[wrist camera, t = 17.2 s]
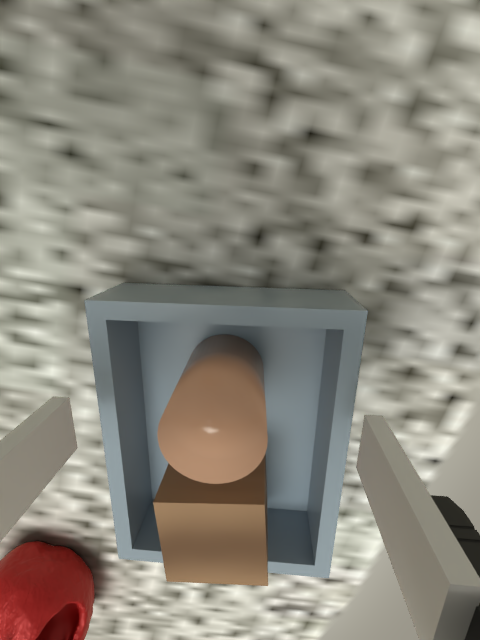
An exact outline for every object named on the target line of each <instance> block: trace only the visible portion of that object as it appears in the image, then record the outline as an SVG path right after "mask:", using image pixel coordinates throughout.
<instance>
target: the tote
mask: <svg viewBox="0 0 480 640" xmlns="http://www.w3.org/2000/svg"><path fill="white" fill-rule="evenodd" d="M84 301H85V308H86V316H87V323H88V331H89V338H90V346H91V353H92V361H93V368H94V376H95V383H96V391H97V398H98V406H99V413H100V421H101V428H102V436H103V443H104V451H105V458H106V466H107V473H108V481H109V488H110V496H111V503H112V511H113V518H114V526H115V533H116V541H117V548H118V556H119V559H129V560H139V561H150V562H161V563H164V562H163V557H162V551H161V545H160V539H159V534H158V528H157V522H156V517H155V511H154V505H153V501H154V499H155V496H156V494H157V491H158V489H159V486H160V484H161V481H162V479H163V476H164V474H165V471H166V469H167V466H168V464H169V463H168V462H167V460H166V459H165V458H164V456H163V454H162V452H161V450H160V447H159V443H158V436H157V432H158V425H159V422H160V419H161V417H162V415H163V413H164V410H165V408H166V406H167V404H168V402H169V400H170V398H171V396H172V394H173V392H174V389H175V387H176V385H177V383H178V381H179V379H180V377H181V375H182V373H183V370H184V368H185V366H186V364H187V362H188V360H189V358H190V356H191V354H192V352H193V350H194V349H195V348H196V346H197V345H198V344H199V343H201V342H202V341H203V340H205V339H207V338H209V337H212V336H215V335H221V334H229V335H234V336H238V337H240V338H243V339H245V340H246V341H248V342H249V343H251V344H252V345H253V346H254V347H255V348H256V350H257V351H258V352H259V354H260V356H261V358H262V361H263V367H264V382H265V400H266V418H267V435H268V443H267V449H266V476H267V517H268V573H279V574H290V575H300V576H311V577H322V578H329V574H330V567H331V561H332V554H333V547H334V540H335V533H336V526H337V519H338V513H339V506H340V499H341V492H342V485H343V478H344V471H345V465H346V458H347V451H348V444H349V437H350V430H351V423H352V416H353V410H354V403H355V396H356V389H357V382H358V375H359V368H360V362H361V355H362V348H363V341H364V334H365V327H366V320H367V314H368V311H367V310H366V309H365V308H364V307H363V306H362V305H361V304H360V303H359V302H357V301H356V300H355V299H354V298H353V297H352V296H351V295H350V294H349V293H347V292H346V291H345V290H320V289H290V288H261V287H231V286H202V285H172V284H142V283H122V284H119V285H117V286H115V287H113V288H110V289H108V290H106V291H104V292H102V293H99V294H97V295H95V296H93V297H90V298H88V299H86V300H84Z"/></svg>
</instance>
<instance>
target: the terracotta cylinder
mask: <svg viewBox="0 0 480 640" xmlns="http://www.w3.org/2000/svg"><path fill="white" fill-rule="evenodd" d="M157 436H158V443H159V447H160V450H161V452H162V454H163V456H164V458H165V459H166V460H167V462H168V463H169V464H170V465H171V466H172V467H173V468H174V469H175V470H176V471H178V472H179V473H181V474H182V475H184V476H186V477H188V478H190V479H193V480H195V481H199V482H203V483H209V484H223V483H229V482H233V481H236V480H239V479H241V478H243V477H245V476H247V475H248V474H250V473H251V472H252V471H253V470H255V469H256V468H257V467H258V465H259V464H260V463H261V461H262V459H263V458H264V455H265V453H266V449H267V443H268V435H267V418H266V400H265V382H264V367H263V361H262V358H261V356H260V354H259V352H258V351H257V350H256V348H255V347H254V346H253V345H252V344H251V343H249V342H248V341H246V340H245V339H243V338H240V337H238V336H234V335H229V334H221V335H215V336H212V337H209V338H207V339H205V340H203V341H202V342H201V343H199V344H198V345H197V346H196V348H195V349H194V350H193V352H192V354H191V356H190V358H189V360H188V362H187V364H186V366H185V368H184V370H183V373H182V375H181V377H180V379H179V381H178V383H177V385H176V387H175V389H174V392H173V394H172V396H171V398H170V400H169V402H168V404H167V406H166V408H165V410H164V413H163V415H162V417H161V419H160V422H159V425H158V432H157Z"/></svg>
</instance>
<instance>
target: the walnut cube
mask: <svg viewBox="0 0 480 640" xmlns="http://www.w3.org/2000/svg"><path fill="white" fill-rule="evenodd" d="M153 505H154V511H155V517H156V522H157V528H158V534H159V539H160V545H161V551H162V557H163V562H164V568H165V574H166V579H167V581H170V582H192V583H215V584H238V585H261V586H268V517H267V476H266V453H265V455H264V458H263V459H262V461H261V463H260V464H259V465H258V467H257V468H256V469H255V470H253V471H252V472H251V473H250V474H248V475H247V476H245V477H243V478H241V479H239V480H236V481H233V482H229V483H223V484H209V483H203V482H199V481H195V480H193V479H190V478H188V477H186V476H184V475H182V474H181V473H179V472H178V471H176V470H175V469H174V468H173V467H172V466H171V465H170V464H168V466H167V469H166V471H165V474H164V476H163V479H162V481H161V484H160V486H159V489H158V491H157V494H156V496H155V499H154V501H153Z"/></svg>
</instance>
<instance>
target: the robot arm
mask: <svg viewBox="0 0 480 640" xmlns="http://www.w3.org/2000/svg"><path fill="white" fill-rule="evenodd" d="M76 449H77V442H76V436H75V430H74V424H73V417H72V411H71V405H70V399H69V397H52V398H51V399H50V400H48V401H47V402H46V403H45V404H44V405H42V406H41V407H40V408H39V409H38V410H36V411H35V412H34V413H33V414H32V415H30V416H29V417H28V418H27V419H26V420H24V421H23V422H22V423H21V424H20V425H18V426H17V427H16V428H15V429H14V430H12V431H11V432H10V433H9V434H8V435H6V436H5V437H4V438H3V439H2V440H0V542H1V540H2V539H3V538H4V537H5V536H6V534H7V533H8V532H9V531H10V529H11V528H12V527H13V526H14V525H15V523H16V522H17V521H18V520H19V518H20V517H21V516H22V515H23V514H24V512H25V511H26V510H27V509H28V508H29V506H30V505H31V504H32V503H33V501H34V500H35V499H36V498H37V497H38V495H39V494H40V493H41V492H42V490H43V489H44V488H45V487H46V486H47V484H48V483H49V482H50V481H51V480H52V478H53V477H54V476H55V475H56V473H57V472H58V471H59V470H60V469H61V467H62V466H63V465H64V464H65V462H66V461H67V460H68V459H69V458H70V456H71V455H72V454H73V453H74V452H75V450H76ZM356 468H357V471H358V473H359V476H360V479H361V482H362V484H363V487H364V490H365V493H366V495H367V498H368V501H369V504H370V506H371V509H372V512H373V514H374V517H375V520H376V523H377V525H378V528H379V531H380V534H381V536H382V539H383V542H384V545H385V547H386V550H387V553H388V555H389V558H390V561H391V564H392V566H393V569H394V572H395V575H396V577H397V580H398V583H399V585H400V588H401V591H402V594H403V596H404V599H405V602H406V605H407V607H408V610H409V613H410V616H411V618H412V621H413V624H414V627H415V629H416V632H417V635H418V638H419V640H480V535H479V533H478V532H477V530H475V529H474V526H473V524H472V523H471V521H470V520H469V518H468V517H467V515H466V514H465V513H464V511H463V510H462V509H461V508H460V507H458V506H457V505H456V504H455V503H454V502H453V501H452V500H451V499H450V498H448V497H444V496H431V495H430V494H429V492H428V491H427V489H426V487H425V485H424V484H423V482H422V480H421V479H420V477H419V475H418V474H417V472H416V470H415V469H414V467H413V465H412V464H411V462H410V460H409V459H408V457H407V455H406V454H405V452H404V450H403V449H402V447H401V445H400V444H399V442H398V440H397V439H396V437H395V435H394V434H393V432H392V430H391V429H390V427H389V425H388V423H387V422H386V420H385V418H384V417H383V416H374V415H365V416H364V422H363V428H362V435H361V441H360V447H359V453H358V460H357V466H356Z"/></svg>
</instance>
